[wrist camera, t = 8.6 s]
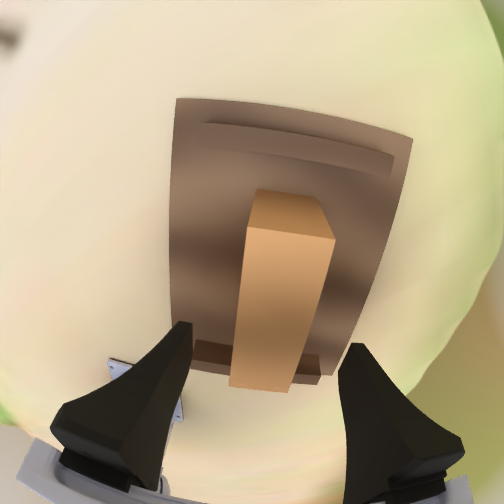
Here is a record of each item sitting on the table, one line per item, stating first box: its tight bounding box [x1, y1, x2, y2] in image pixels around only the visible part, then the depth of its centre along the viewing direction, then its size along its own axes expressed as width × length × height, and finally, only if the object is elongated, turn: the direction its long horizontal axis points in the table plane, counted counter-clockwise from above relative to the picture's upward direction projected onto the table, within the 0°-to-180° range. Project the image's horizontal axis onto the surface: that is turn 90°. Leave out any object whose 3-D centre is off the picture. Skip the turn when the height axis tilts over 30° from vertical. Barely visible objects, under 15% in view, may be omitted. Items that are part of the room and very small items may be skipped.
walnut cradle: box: [169, 98, 413, 385], centre depth 18 cm, size 20×14×3 cm
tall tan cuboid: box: [229, 189, 336, 393], centre depth 16 cm, size 10×4×6 cm, turn 173°
